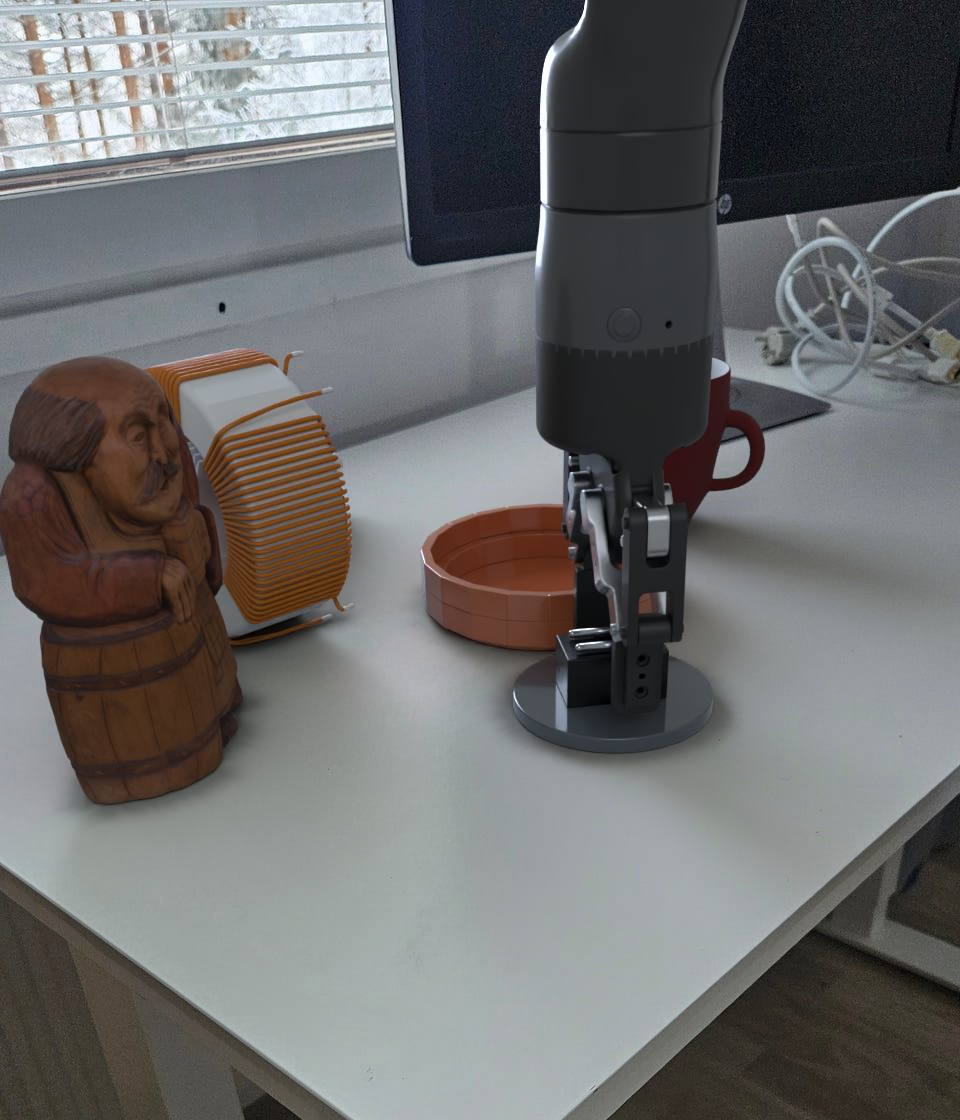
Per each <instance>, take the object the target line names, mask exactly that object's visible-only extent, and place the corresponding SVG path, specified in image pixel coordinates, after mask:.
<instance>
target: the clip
mask: <svg viewBox="0 0 960 1120" xmlns="http://www.w3.org/2000/svg"><path fill="white" fill-rule="evenodd" d="M555 655H556V682H557V684H558V686H559V689H560V691H561V693H562V696H563V698H564V700H565V703H566V705H567V707H568V708H573V707H583V706H593V705H603V704H611V701H610V695H611V661H612V636H611V634H610V627H599V628H589V629H578V630H571V631H569V633H568V634H560V635H556V650H555ZM669 655H670V650H669V648H668V647H667V645H666V643H663V658H662V676H661V695H660V699H664V698H666V697H667V682H668V665H669Z"/></svg>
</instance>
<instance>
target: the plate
mask: <svg viewBox="0 0 960 1120" xmlns="http://www.w3.org/2000/svg"><path fill="white" fill-rule="evenodd" d="M713 689H714V688H713V686H712V684H711V682H710V680H709V679H708V678H707V676H706V675H705V673H703V672H702V671H701V670H700V669H698V668H697V667H695V666H694V665H693V664H691V663H688V662H686V661H685V660H683V659H681V658H678V657H675V656H673V655H670V654H669V665H668V682H667V697H666V698H664V699H660V704H659V706H658V708H657V709H656V710H654V711H652V712H646V713H636V714H626V715H620V714H618V713H616V712H615V710H614V708H613V706H612V704H603V705H593V706H583V707H573V708H568V707H567V705H566V703H565V700H564V698H563V696H562V693H561V691H560V689H559V686H558V684H557V682H556V654H553V655H550V656H547V657H545V658H543V659H540V660H538V661H536V662H535V663H533V664H531V665H530V666H528V667H527V668H525V670H524V671H522V672H521V673H520V675H519V676H518V677H517V679H516V680H515V682H514V685H513V688H512V708H513V712H514V714H515V716H516V718H517V720H518V721H519V722H520V723H521V725H523V726H524V727H525V728H526V729H527V730H528V731H530V732H531V733H532V734H534V735H536V736H538V737H539V738H541V739H543V740H545V741H548V742H550V743H553V744H556V745H558V746H563V747H565V748H569V749H575V750H579V751H584V752H585V751H586V752H591V753H605V754H606V753H608V754H625V753H639V752H646V751H651V750H652V751H653V750H656V749H660V748H665V747H667V746H672V745H674V744H677V743H679V742H682V741H684V740H686V739H688V738H690V737H691V736H693V735H694V734H696V733H697V732H698V731H700V730H701V729H702V728H703V727H704V726H706V724H707V723H708V722H709V719H710V718H711V716H712V713H713V705H714V690H713Z"/></svg>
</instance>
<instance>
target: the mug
mask: <svg viewBox="0 0 960 1120" xmlns="http://www.w3.org/2000/svg"><path fill="white" fill-rule="evenodd" d="M731 373H732V369H731V366H730V364H728V363H727V362H726V361H724V360H722V359H719V358H716V357H713V356H712V369H711V384H710V399H709V413H708V425H707V428H706V431H705V432H704V434H703V435H702V436H701V438H700V439H698V440H697V441H696V442H694V443H693V444H691V445H689V446H687V447H685V448H679V449H676V450H675V451H673V452H672V453H670V454H669V455H668V456H667V457H666V458H665V459H664V460H663V465H662V469H663V471H664V483H669V484H670V486H671V490H672V498H673V504H679V503H684V504H685V505H686V508H687V512H688V514H689V522H690V521H691V520H692V518H693V517H694V515H695V514H696V512H697V510H698V509H699V507H700V505H701V504H702V503H703V501H704V499H705V498H706V496H707V495H708V494H709V492H723V491H729V490H734V489H737V488H740V487H743V486H745V485H747V484H748V483H749V482H751V481H752V480H753V479H754V478H755V477H756V476H757V474H758V473H759V471H760V469H761V467H762V465H763V463H764V460H765V455H766V440H765V436H764V433H763V430H762V428H761V426H760V424H759V423H758V422H757V420H756V419H755V418H754V417H753V416H752V415H751V414H749V413H747V412H745V411H743V410H738V409H731V406H730V404H731V403H730V401H731V400H730V398H731V377H732V376H731V375H732V374H731ZM728 428H731V429H737V430H739V431H740V432H742V434H744V436H745V437H746V440H747V442H748V446H749V457H748V460H747V463H746V465H745V467H744V468H743V469H742V470H741V471H740V472H739V473H737V474H736V475H733V476H729V477H722V478H721V477H719V478H714V471H715V469H716V468H715V467H716V464H717V459H718V455H719V451H720V448H721V443H722V440H723V437H724V433H725V430H726V429H728Z"/></svg>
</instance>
